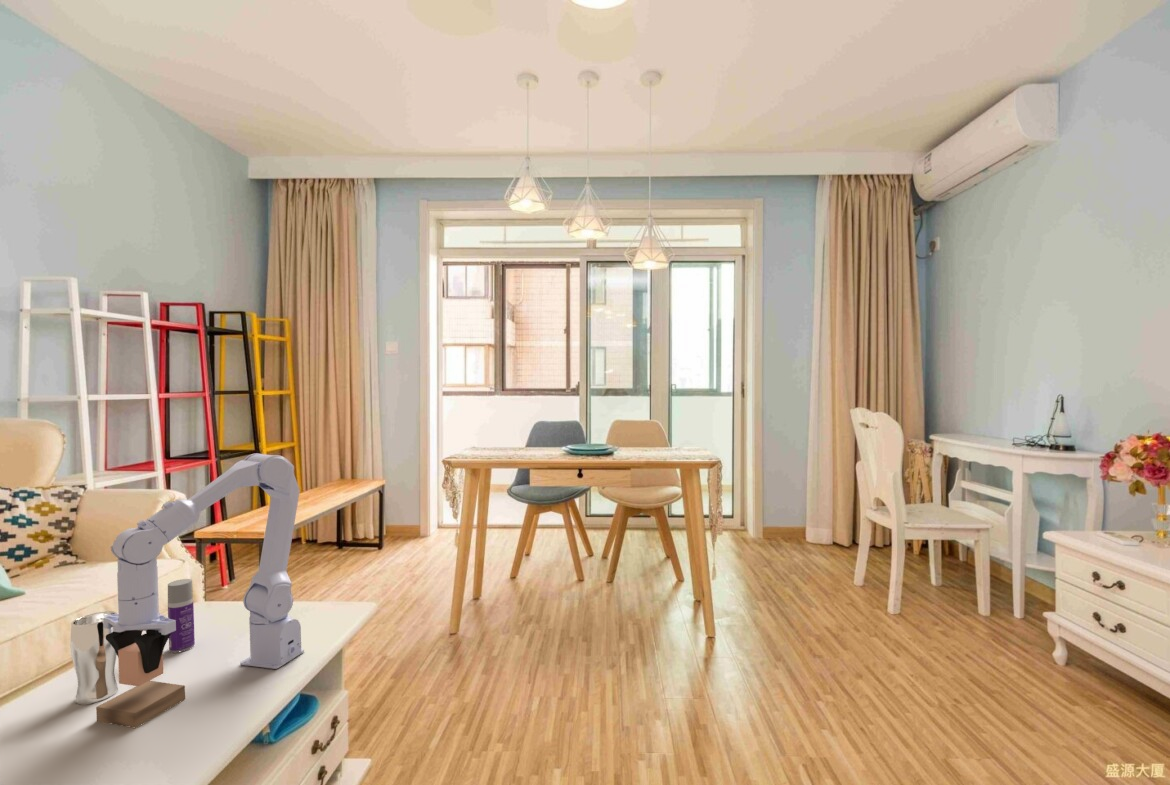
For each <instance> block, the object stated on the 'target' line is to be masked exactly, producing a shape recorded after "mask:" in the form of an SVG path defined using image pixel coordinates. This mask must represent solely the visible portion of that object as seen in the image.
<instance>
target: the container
mask: <svg viewBox="0 0 1170 785" xmlns="http://www.w3.org/2000/svg"><path fill="white" fill-rule="evenodd" d="M193 592H194V591H193V580H192V579H191V578H182V579H177V580H173V581H171V582H169V583H167V618H169V619H172V620H176V631H173V632H172V633H171V635H170V637H169V638H168V652H169V651H170V652H169V653H171V652H179V651H184V650H187V651H189V650H191V649H193V648H195V646H196V645H195V644H196V643H195V613H194V610H195V609H194V608H195V607H194V593H193ZM194 645H195V646H194ZM192 647H193V648H192ZM190 648H191V649H190ZM188 649H189V650H188ZM184 652H185V651H184ZM179 653H180V652H179Z"/></svg>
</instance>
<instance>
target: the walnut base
mask: <svg viewBox="0 0 1170 785" xmlns="http://www.w3.org/2000/svg"><path fill="white" fill-rule="evenodd" d="M184 699H185V700H186V686H185V685H184V684H183V685H182V684H178V683H177V684H176V683H175V684H174V683H170V682H168V683H167V682H164V681H163V682H161V681H155V680H154V681H153V680H150V681H148V682H146V683H144V684H142V685H140V686H134V687H132V688H130V689H129V690H127V691H125V692H123V693H120V694H119V695H117V696H115V697H112V698H111V699H109V700H107V701H105V702H103V703H101V704H99V705H96V706H95V707H96V712H95V713H96V722H97V723H103V722H104V724H109V723H112V724H111V725H114V724H117V725H116V726H120V725H123V726H122V727H126V726H130V727H129V728H132V727H135V728H134V729H137V728H138V726H139V727H140V726H142V725H143V723H144V724H146V723H148V722H149V721H151V720H153V719H154V718H156V717H157V716H159V715H161V714H162V713H164V712H166V711H168V710H169V709H170V707H171V708H172V706H173V707H175V706H176V705H177V703H178V704H180V703H181V702H183V701H184ZM180 701H181V702H180ZM179 702H180V703H179ZM175 704H176V705H175ZM167 709H168V710H167ZM165 710H166V711H165ZM141 724H142V725H141ZM136 727H137V728H136Z"/></svg>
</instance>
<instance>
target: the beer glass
mask: <svg viewBox="0 0 1170 785" xmlns="http://www.w3.org/2000/svg"><path fill="white" fill-rule="evenodd" d="M113 614H118V613H117V612H116V611H112V610H111V611H109V610H108V611H99V612H94V613H89V614H86V615H84V616H81V617H78V618H76V619H74V620H73V621H72V622H71V623H70V624H71V625H70V627H71V628H70V638H69V640H70V641H69V643H70V648H69V649H70V655H71V659H72V664H73V666H74V671H75V674H76V678H77V691H76V695H75V703H76V704H77V705H83V706H84V705H91V704H95V703H98V702H102V701H104V700H106V699H109V698H110V697H112V696H114V695H115V694H116V693H117V692H118V690H119V687H118V684H117V680H116V674H115V670H116V667H115V666H116V661H117V658H118V656H117V654H116V652H115V650H114V648H113V647H112V645H111V644H110V643H109V642H108V641H107V640H106V635H107V634H110V633H112V632H113V627H111V628H108V629H106V628H104V620H103V618H105V617H108V616H110V615H113Z"/></svg>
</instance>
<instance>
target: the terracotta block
mask: <svg viewBox="0 0 1170 785" xmlns="http://www.w3.org/2000/svg"><path fill="white" fill-rule="evenodd" d="M163 652H164V651H163ZM163 652H162V656H161V660H160V664H159V667H158V669H156V670H154V671H152V672H150V673H145V672H144V669H143V665H142V657H141V653H140V650H139V648H138V646H137V644H136V643H134V644H131V645H129V646H127V647H124V648H122V649H120V650H118V656H117V658H118V661H117V662H118V684H121V685H128V686H134V687H136V686H140V685H142V684H144V683H146V682H148V681H153V680H154V679H155V678H158V677H159V676H161V675H163V674H164V653H163Z"/></svg>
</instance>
